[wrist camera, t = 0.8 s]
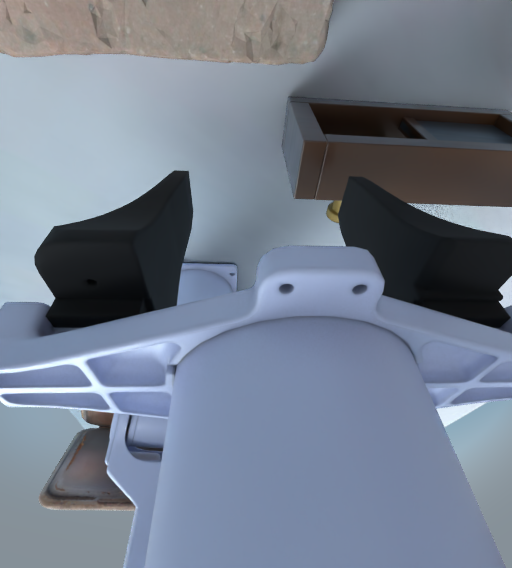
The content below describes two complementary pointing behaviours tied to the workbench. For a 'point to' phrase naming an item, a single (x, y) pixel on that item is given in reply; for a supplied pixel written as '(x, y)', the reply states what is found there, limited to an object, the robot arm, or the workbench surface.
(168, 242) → the robot arm
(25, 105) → the workbench surface
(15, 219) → the workbench surface
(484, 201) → the window frame
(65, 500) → the case
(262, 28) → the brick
